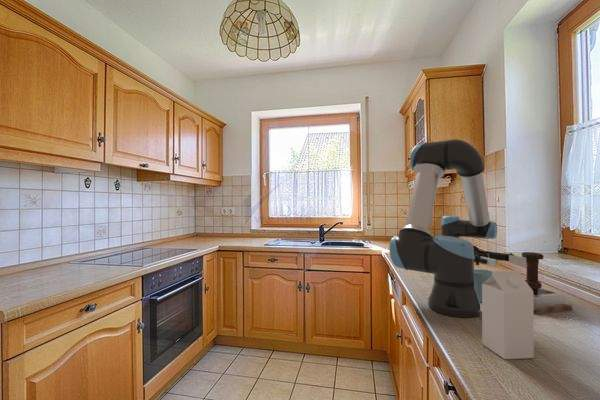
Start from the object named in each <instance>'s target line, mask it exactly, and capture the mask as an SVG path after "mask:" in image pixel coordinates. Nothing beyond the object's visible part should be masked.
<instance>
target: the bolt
mask: <svg viewBox="0 0 600 400" xmlns="http://www.w3.org/2000/svg"><path fill="white" fill-rule="evenodd" d="M521 257H523V258H526V263H527V264H526V265H525V266H526V268H525V269H526V279H524V280H525V281H526V282H527V284H528V285H529V286H530V288H531V289H532V290H533V295H538V289H540V288H543V287H542V286H543V285H542V282H540V281H539V265H540V263H539V262H540V260H544V255H543V254H542V253H538V252H530V251H527V252H526V251H524V252H521Z"/></svg>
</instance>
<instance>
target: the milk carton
mask: <svg viewBox="0 0 600 400" xmlns="http://www.w3.org/2000/svg"><path fill="white" fill-rule="evenodd" d="M491 271H492V276H491V277H490V278H489V279H487V280H486V281H485V282H484V283H482V303H481V313H482V314H481V315H482V316H481V322H482V323H481V325H482V326H481V336H482V337H481V342H482V345H484V346H485V348H487V349H489V350H490V351H492V352H493V353H494V354H496V355H497V354H498V355H497V356H498V357H500V356H501V358H502V359H503V360H519V359H521V360H522V359H533V358H534V356H535V355H534V352H535V351H534V346H535V344H534V343H535V342H534V341H535V340H534V339H535V338H534V335H535V334H534V333H535V332H534V331H535V330H534V315H535V314H534V308H533V290H532V289H531V288H530V286H529V285H528V284H527V282H526V281H525V280H526V279H525V278H523V276H522V271H521V270H520V269H518V270H517V269H515V270H510V269H509V270H491Z"/></svg>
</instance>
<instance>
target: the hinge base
mask: <svg viewBox="0 0 600 400" xmlns="http://www.w3.org/2000/svg"><path fill="white" fill-rule="evenodd" d="M533 308H534V315H543V314H550V313H551V314H552V313H559V312H568V311H569V312H570V311H573V305H572V304H567V303H566V294H565V293H562V292H559V291H555V290H551V289H548V288H544V287H541V288H540V289H538V295H533Z"/></svg>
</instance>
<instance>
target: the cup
mask: <svg viewBox="0 0 600 400" xmlns="http://www.w3.org/2000/svg"><path fill="white" fill-rule="evenodd" d="M492 271H493V270H489V269H479V268H474V289H475V292H476V295H477V298H478V302H479V304H480V303H481V304H482V283H484V282H485V281H486V280H487V279H489V278H490V277H491V276H492Z"/></svg>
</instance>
